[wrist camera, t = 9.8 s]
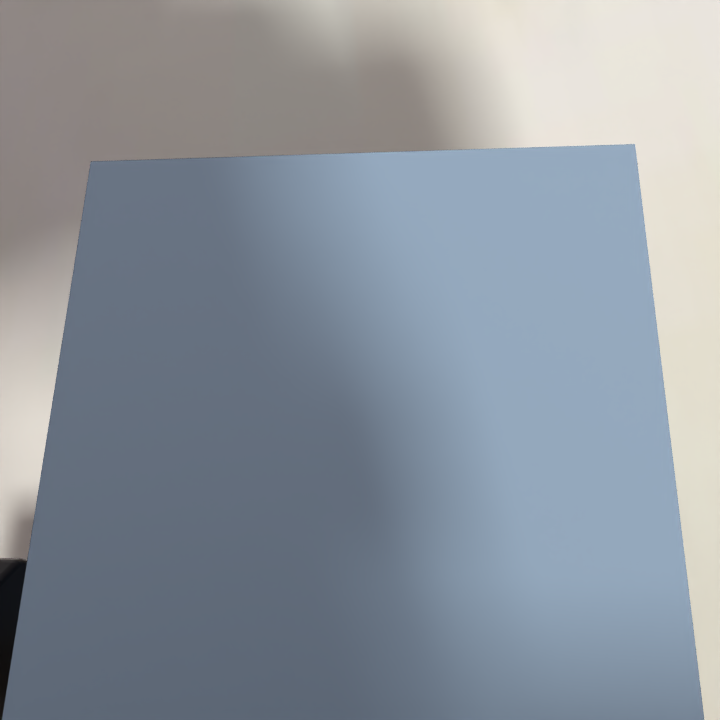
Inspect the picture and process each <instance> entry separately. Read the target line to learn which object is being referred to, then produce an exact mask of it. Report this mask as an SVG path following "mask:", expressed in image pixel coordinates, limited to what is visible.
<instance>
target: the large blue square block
mask: <svg viewBox="0 0 720 720" xmlns="http://www.w3.org/2000/svg"><path fill="white" fill-rule="evenodd" d="M2 720H704V713H703V705H702V697H701V688H700V680H699V672H698V663H697V655H696V647H695V639H694V630H693V622H692V614H691V605H690V597H689V589H688V580H687V572H686V564H685V556H684V547H683V539H682V531H681V522H680V514H679V506H678V498H677V489H676V481H675V473H674V464H673V456H672V448H671V439H670V431H669V423H668V415H667V406H666V398H665V390H664V381H663V373H662V365H661V357H660V348H659V340H658V332H657V323H656V315H655V307H654V298H653V290H652V282H651V274H650V265H649V257H648V249H647V240H646V232H645V224H644V216H643V207H642V199H641V191H640V182H639V174H638V166H637V157H636V149H635V144H626V145H595V146H563V147H531V148H500V149H468V150H437V151H405V152H374V153H342V154H311V155H279V156H247V157H216V158H184V159H153V160H121V161H91V164H90V170H89V176H88V183H87V189H86V195H85V201H84V208H83V214H82V220H81V227H80V233H79V239H78V245H77V252H76V258H75V264H74V271H73V277H72V283H71V289H70V296H69V302H68V308H67V314H66V321H65V327H64V333H63V340H62V346H61V352H60V358H59V365H58V371H57V377H56V384H55V390H54V396H53V402H52V409H51V415H50V421H49V427H48V434H47V440H46V446H45V453H44V459H43V465H42V471H41V478H40V484H39V490H38V497H37V503H36V509H35V515H34V522H33V528H32V534H31V541H30V547H29V553H28V559H27V566H26V572H25V578H24V584H23V591H22V597H21V603H20V610H19V616H18V622H17V628H16V635H15V641H14V647H13V654H12V660H11V666H10V672H9V679H8V685H7V691H6V697H5V704H4V710H3V716H2Z"/></svg>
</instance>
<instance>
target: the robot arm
mask: <svg viewBox="0 0 720 720" xmlns="http://www.w3.org/2000/svg"><path fill="white" fill-rule="evenodd" d="M26 566H27V561H26V560H25V559H21V558H0V720H2V716H3V710H4V704H5V697H6V691H7V685H8V679H9V672H10V666H11V660H12V654H13V647H14V641H15V635H16V628H17V622H18V616H19V610H20V603H21V597H22V591H23V584H24V578H25V572H26Z"/></svg>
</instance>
